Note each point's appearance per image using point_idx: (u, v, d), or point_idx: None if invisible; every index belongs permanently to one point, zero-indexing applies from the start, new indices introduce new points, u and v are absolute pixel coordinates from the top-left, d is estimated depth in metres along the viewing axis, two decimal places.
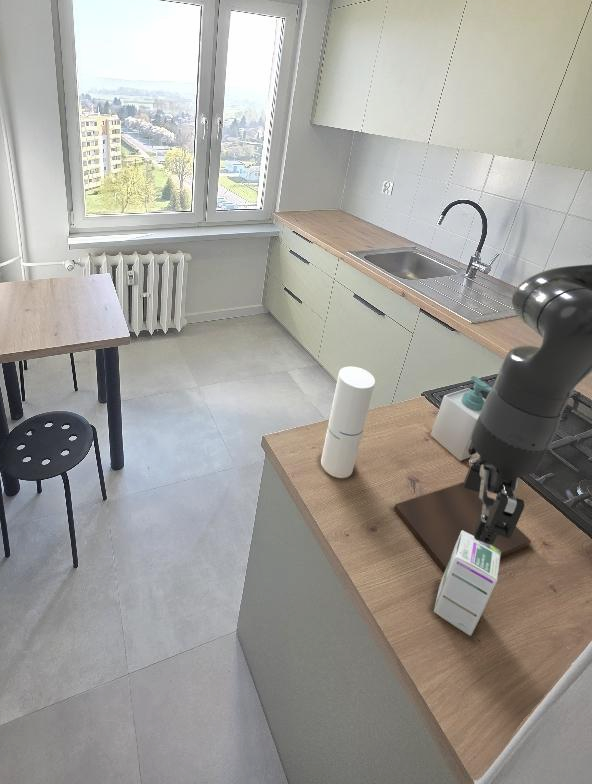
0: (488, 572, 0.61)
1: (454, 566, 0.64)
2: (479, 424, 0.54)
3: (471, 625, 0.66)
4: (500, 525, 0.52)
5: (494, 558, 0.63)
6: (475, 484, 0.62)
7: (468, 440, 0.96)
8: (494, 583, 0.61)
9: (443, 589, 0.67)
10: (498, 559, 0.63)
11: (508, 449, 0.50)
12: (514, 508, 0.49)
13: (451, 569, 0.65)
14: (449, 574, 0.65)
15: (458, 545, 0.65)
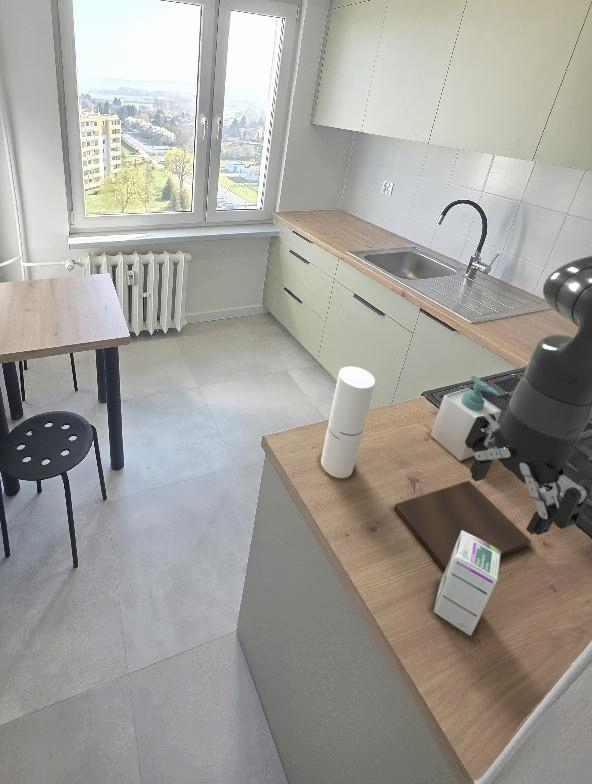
0: (488, 572, 0.61)
1: (454, 566, 0.64)
2: (523, 428, 0.52)
3: (471, 625, 0.66)
4: None
5: (494, 558, 0.63)
6: (483, 473, 0.62)
7: None
8: (494, 583, 0.61)
9: (443, 589, 0.67)
10: (498, 559, 0.63)
11: (565, 444, 0.50)
12: (585, 497, 0.50)
13: (451, 569, 0.65)
14: (449, 574, 0.65)
15: (458, 545, 0.65)
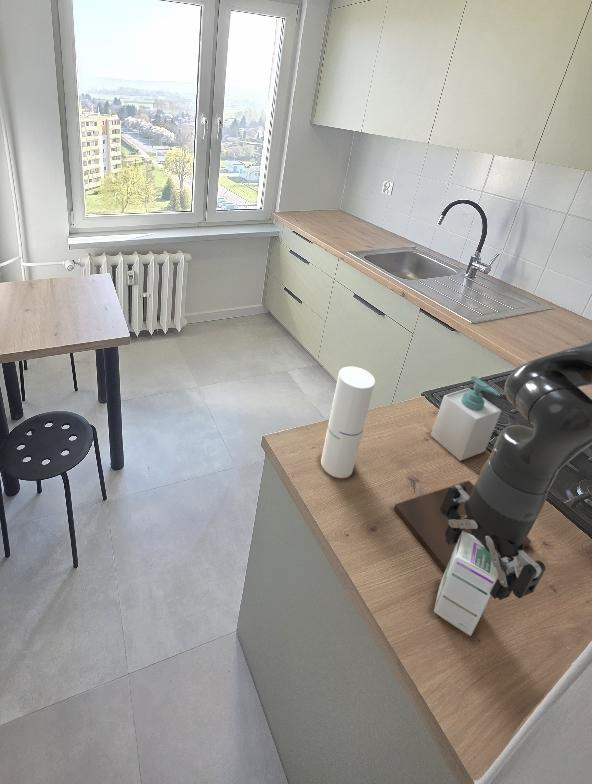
0: (488, 573, 0.61)
1: (455, 566, 0.64)
2: (487, 508, 0.58)
3: (471, 625, 0.66)
4: None
5: None
6: (456, 538, 0.68)
7: (468, 440, 0.96)
8: (494, 583, 0.61)
9: (443, 589, 0.67)
10: None
11: (523, 525, 0.56)
12: (540, 573, 0.56)
13: (451, 569, 0.65)
14: (449, 574, 0.65)
15: (458, 545, 0.65)
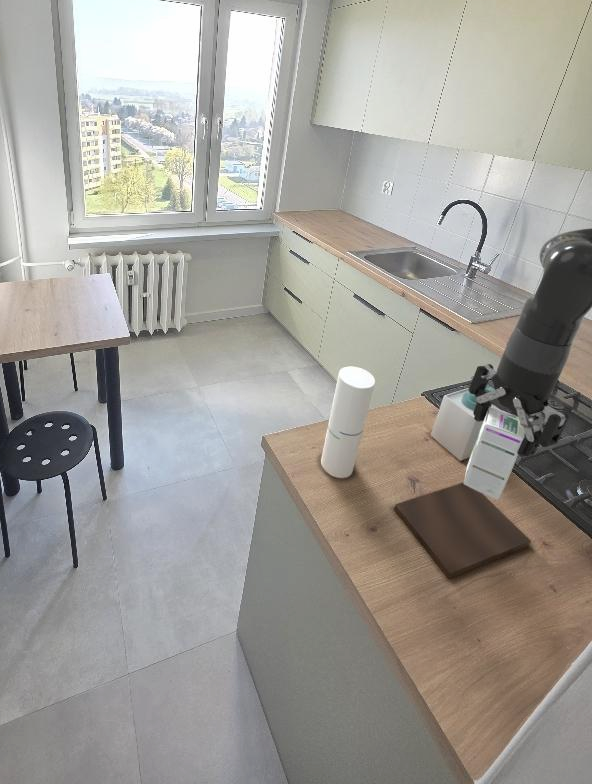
0: (515, 434, 0.68)
1: (484, 433, 0.71)
2: (516, 368, 0.64)
3: (498, 490, 0.72)
4: None
5: (520, 425, 0.70)
6: (483, 415, 0.75)
7: (468, 440, 0.96)
8: (521, 442, 0.68)
9: (473, 459, 0.73)
10: None
11: (548, 378, 0.62)
12: (564, 421, 0.62)
13: (481, 437, 0.71)
14: (479, 442, 0.72)
15: (487, 417, 0.72)
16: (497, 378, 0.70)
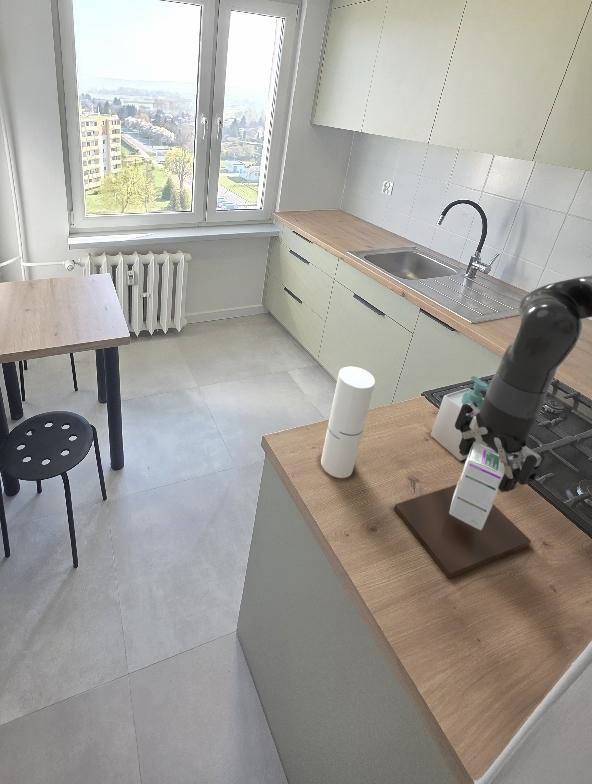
0: (496, 470, 0.73)
1: (468, 468, 0.76)
2: (496, 411, 0.69)
3: (481, 521, 0.77)
4: None
5: None
6: (468, 449, 0.80)
7: None
8: None
9: (457, 491, 0.78)
10: None
11: (526, 422, 0.67)
12: (540, 461, 0.67)
13: (465, 472, 0.76)
14: (463, 476, 0.77)
15: (470, 452, 0.77)
16: (480, 417, 0.75)
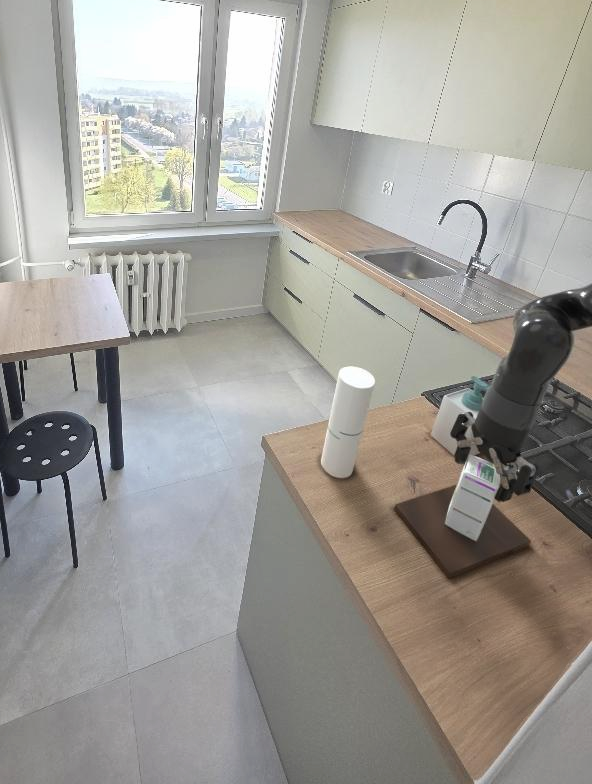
0: (491, 482, 0.74)
1: (463, 480, 0.77)
2: (491, 422, 0.70)
3: (476, 531, 0.78)
4: None
5: (496, 473, 0.76)
6: (463, 458, 0.81)
7: None
8: (496, 491, 0.74)
9: (453, 502, 0.79)
10: None
11: (520, 433, 0.68)
12: (534, 472, 0.68)
13: (460, 483, 0.77)
14: (458, 488, 0.78)
15: (466, 464, 0.78)
16: (476, 427, 0.76)
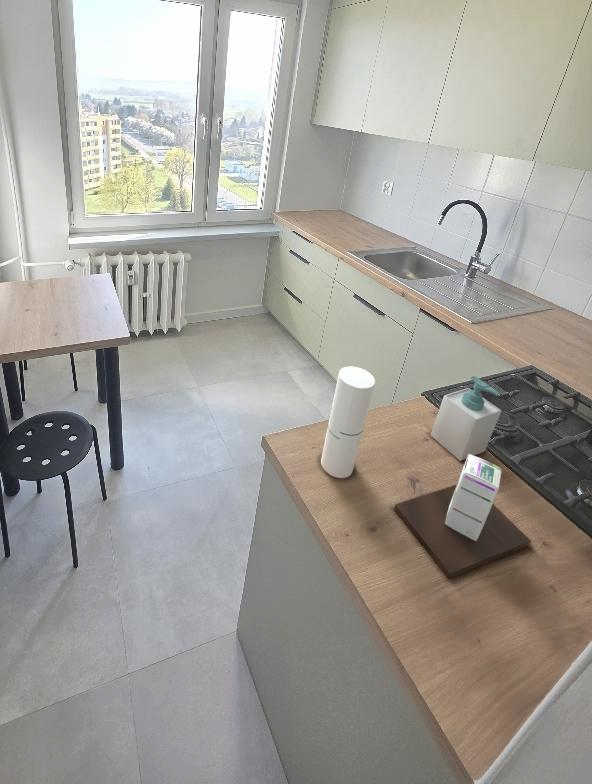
0: (491, 482, 0.74)
1: (463, 480, 0.77)
2: None
3: (476, 531, 0.78)
4: None
5: (496, 473, 0.76)
6: None
7: (468, 440, 0.96)
8: (496, 491, 0.74)
9: (453, 502, 0.79)
10: (499, 474, 0.76)
11: None
12: None
13: (460, 483, 0.77)
14: (458, 488, 0.78)
15: (466, 464, 0.78)
16: None
